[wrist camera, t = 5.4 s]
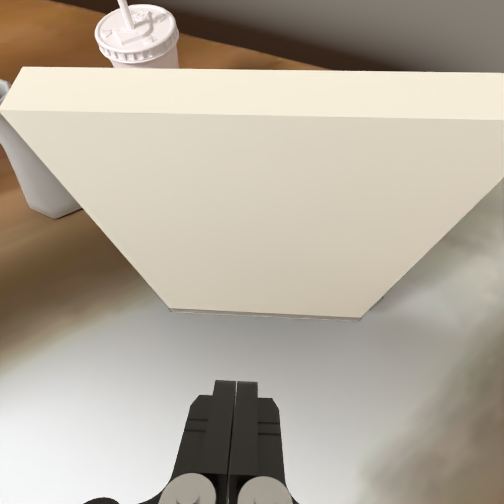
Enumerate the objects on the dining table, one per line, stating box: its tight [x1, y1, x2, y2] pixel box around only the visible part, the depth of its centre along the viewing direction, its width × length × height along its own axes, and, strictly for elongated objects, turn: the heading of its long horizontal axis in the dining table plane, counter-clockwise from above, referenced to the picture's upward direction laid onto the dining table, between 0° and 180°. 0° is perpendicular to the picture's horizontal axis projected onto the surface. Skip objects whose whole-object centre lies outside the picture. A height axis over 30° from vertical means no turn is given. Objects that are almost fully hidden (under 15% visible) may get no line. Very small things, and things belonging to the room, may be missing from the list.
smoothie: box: [95, 0, 179, 69], centre depth 28 cm, size 6×6×14 cm
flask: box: [0, 79, 82, 219], centre depth 26 cm, size 7×7×10 cm
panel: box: [0, 67, 504, 321], centre depth 14 cm, size 12×2×16 cm, turn 87°
